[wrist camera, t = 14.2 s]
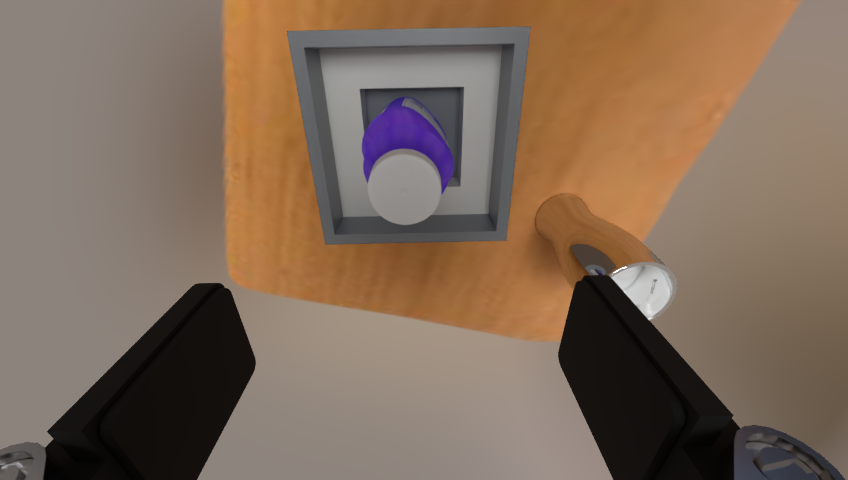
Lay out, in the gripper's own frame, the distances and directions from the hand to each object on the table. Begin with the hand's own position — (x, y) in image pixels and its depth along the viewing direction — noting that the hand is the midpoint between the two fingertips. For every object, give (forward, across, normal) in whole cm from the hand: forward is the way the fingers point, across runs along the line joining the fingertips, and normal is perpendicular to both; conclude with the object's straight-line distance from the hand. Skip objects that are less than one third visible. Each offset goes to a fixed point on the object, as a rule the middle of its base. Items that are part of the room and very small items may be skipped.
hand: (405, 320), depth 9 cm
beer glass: (+28, -17, +10) cm, 35 cm away
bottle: (+28, 0, 0) cm, 28 cm away
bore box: (+28, 0, 0) cm, 28 cm away
